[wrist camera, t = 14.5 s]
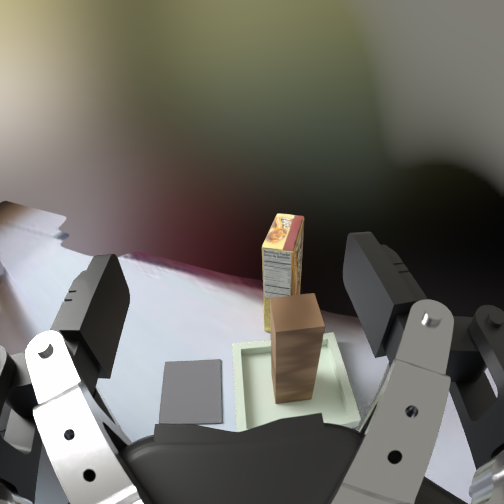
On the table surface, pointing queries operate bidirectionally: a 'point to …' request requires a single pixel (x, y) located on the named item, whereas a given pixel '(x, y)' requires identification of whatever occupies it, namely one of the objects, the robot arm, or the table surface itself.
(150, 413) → the table surface
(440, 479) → the table surface
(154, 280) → the table surface
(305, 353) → the block
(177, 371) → the mat
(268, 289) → the candy box
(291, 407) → the dish
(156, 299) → the table surface
